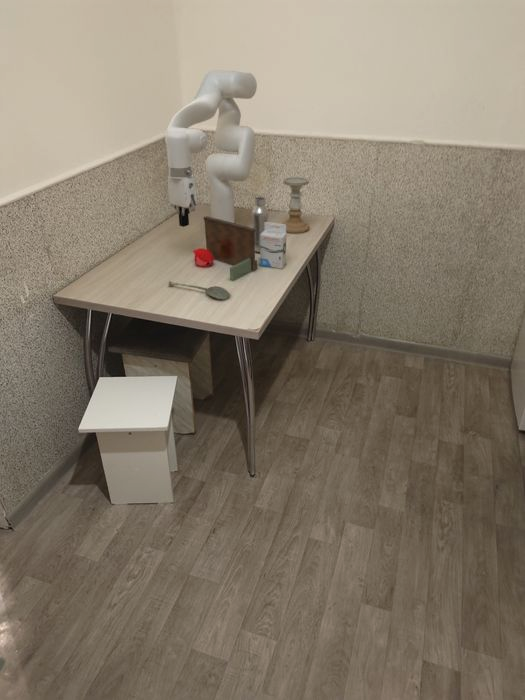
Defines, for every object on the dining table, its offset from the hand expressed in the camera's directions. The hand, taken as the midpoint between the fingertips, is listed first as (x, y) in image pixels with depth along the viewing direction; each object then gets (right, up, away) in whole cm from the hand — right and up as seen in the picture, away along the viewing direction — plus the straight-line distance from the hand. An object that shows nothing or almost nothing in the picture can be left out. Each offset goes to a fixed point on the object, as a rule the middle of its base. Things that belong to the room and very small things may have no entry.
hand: (184, 225), depth 181 cm
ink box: (+32, -14, +3) cm, 35 cm away
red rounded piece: (+7, -14, +3) cm, 15 cm away
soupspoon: (+7, -26, -16) cm, 31 cm away
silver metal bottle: (+27, -6, +15) cm, 31 cm away
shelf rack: (+14, -15, +1) cm, 20 cm away
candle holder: (+41, +7, +36) cm, 55 cm away
